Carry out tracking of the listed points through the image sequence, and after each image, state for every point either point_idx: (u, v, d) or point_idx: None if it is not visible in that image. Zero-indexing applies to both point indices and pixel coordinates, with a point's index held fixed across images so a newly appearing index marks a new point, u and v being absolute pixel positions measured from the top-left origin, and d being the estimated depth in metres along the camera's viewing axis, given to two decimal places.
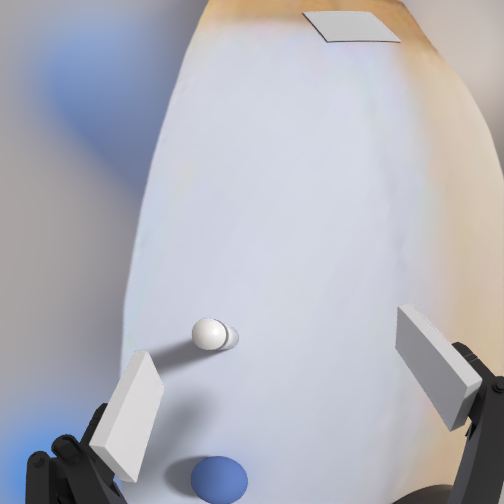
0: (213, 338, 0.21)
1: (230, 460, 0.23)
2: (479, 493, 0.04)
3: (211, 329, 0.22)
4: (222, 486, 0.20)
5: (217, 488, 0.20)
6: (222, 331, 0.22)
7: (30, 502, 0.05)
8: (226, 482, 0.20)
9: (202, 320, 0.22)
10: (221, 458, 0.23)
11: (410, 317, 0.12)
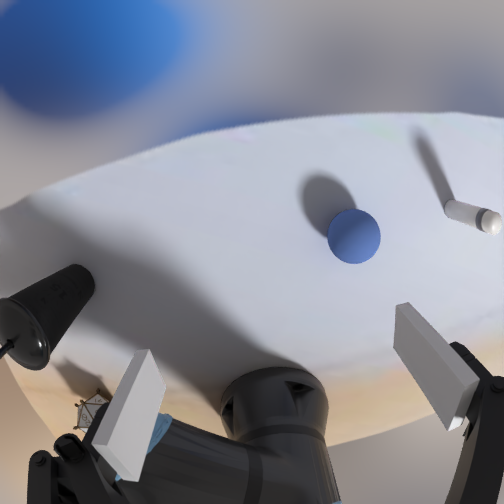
0: (493, 228, 0.23)
1: None
2: (477, 493, 0.04)
3: (497, 226, 0.23)
4: (370, 249, 0.27)
5: (368, 246, 0.27)
6: (495, 233, 0.23)
7: (32, 501, 0.05)
8: (372, 250, 0.27)
9: (500, 218, 0.23)
10: None
11: (408, 317, 0.12)
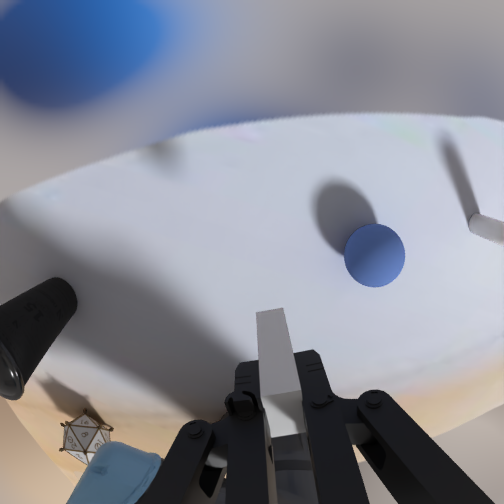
0: None
1: None
2: None
3: None
4: (394, 272, 0.22)
5: (392, 268, 0.22)
6: None
7: (163, 476, 0.07)
8: (396, 273, 0.23)
9: None
10: None
11: (273, 322, 0.15)
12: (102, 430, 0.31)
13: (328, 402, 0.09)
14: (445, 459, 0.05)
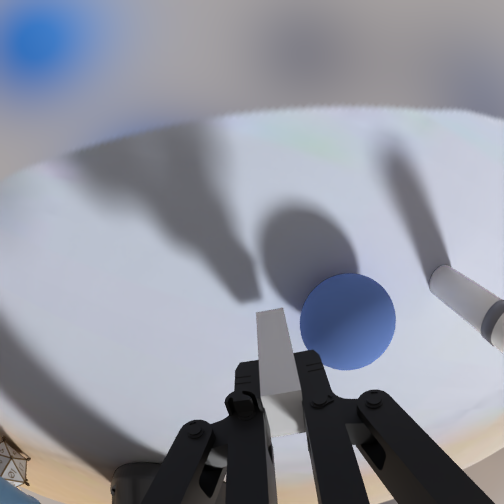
0: None
1: None
2: None
3: None
4: None
5: None
6: None
7: (163, 476, 0.07)
8: None
9: None
10: None
11: (272, 322, 0.15)
12: (16, 460, 0.22)
13: (328, 402, 0.09)
14: (445, 459, 0.05)
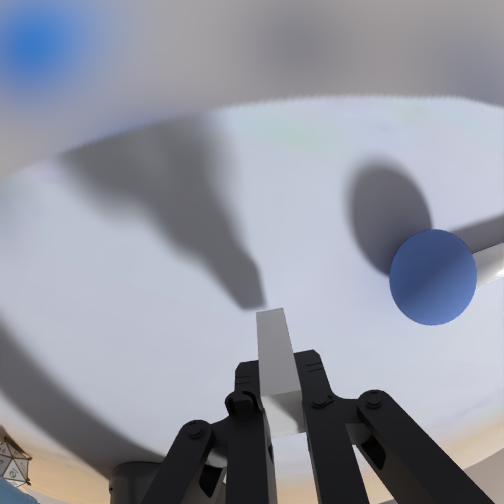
0: None
1: (446, 306, 0.12)
2: None
3: None
4: (396, 303, 0.15)
5: None
6: None
7: (163, 476, 0.07)
8: (401, 310, 0.15)
9: None
10: (441, 293, 0.12)
11: (273, 322, 0.15)
12: (17, 460, 0.23)
13: (328, 402, 0.09)
14: (445, 459, 0.05)
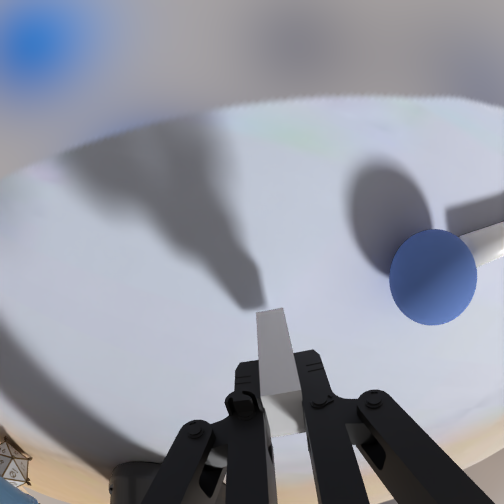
0: None
1: (446, 306, 0.12)
2: None
3: None
4: (396, 303, 0.15)
5: None
6: None
7: (163, 476, 0.07)
8: (402, 309, 0.15)
9: None
10: (441, 292, 0.12)
11: (273, 322, 0.15)
12: (17, 460, 0.23)
13: (328, 402, 0.09)
14: (445, 459, 0.05)
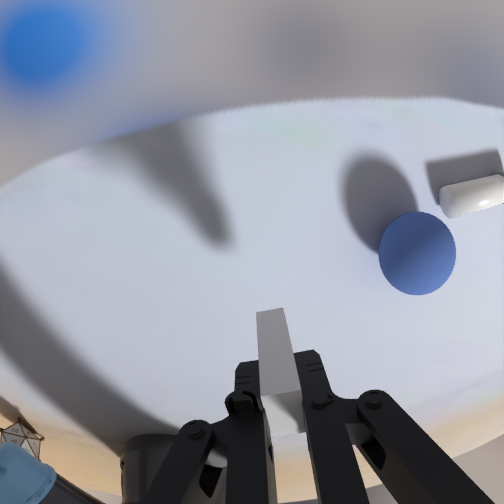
0: None
1: (426, 276, 0.15)
2: None
3: None
4: (384, 275, 0.18)
5: None
6: None
7: (163, 476, 0.07)
8: (389, 280, 0.18)
9: None
10: (421, 263, 0.15)
11: (272, 322, 0.15)
12: (30, 439, 0.27)
13: (328, 402, 0.09)
14: (445, 459, 0.05)
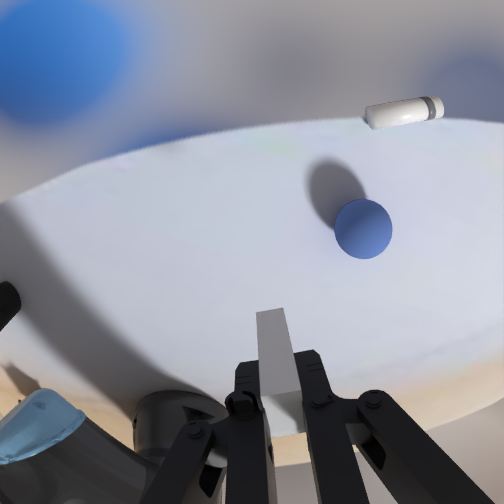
0: None
1: (366, 242, 0.24)
2: None
3: None
4: (339, 245, 0.27)
5: (337, 240, 0.27)
6: None
7: (163, 476, 0.07)
8: (342, 248, 0.26)
9: (442, 105, 0.23)
10: (361, 233, 0.24)
11: (272, 322, 0.15)
12: None
13: (328, 402, 0.09)
14: (445, 459, 0.05)
